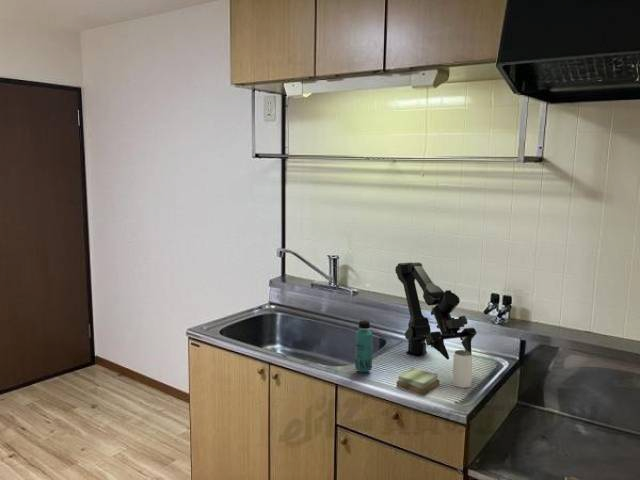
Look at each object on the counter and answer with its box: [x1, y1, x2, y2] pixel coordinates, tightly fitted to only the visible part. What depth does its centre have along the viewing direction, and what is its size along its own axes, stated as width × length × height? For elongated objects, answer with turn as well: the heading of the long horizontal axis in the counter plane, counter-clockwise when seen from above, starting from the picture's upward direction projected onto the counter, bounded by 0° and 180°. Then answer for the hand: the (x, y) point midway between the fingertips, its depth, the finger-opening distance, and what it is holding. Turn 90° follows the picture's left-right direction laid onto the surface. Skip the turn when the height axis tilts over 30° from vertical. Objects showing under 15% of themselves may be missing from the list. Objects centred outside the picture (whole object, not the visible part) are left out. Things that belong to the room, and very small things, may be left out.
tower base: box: [396, 367, 440, 396], centre depth 187 cm, size 11×11×4 cm
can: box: [452, 349, 473, 389], centre depth 187 cm, size 6×6×12 cm
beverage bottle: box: [354, 320, 373, 373], centre depth 198 cm, size 6×7×20 cm
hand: (459, 357), depth 188 cm, fingers open, 9 cm apart
